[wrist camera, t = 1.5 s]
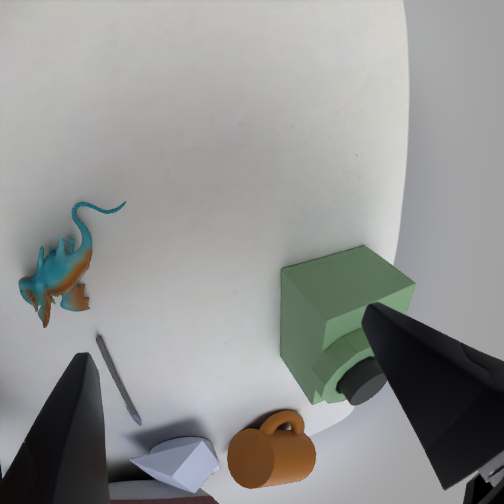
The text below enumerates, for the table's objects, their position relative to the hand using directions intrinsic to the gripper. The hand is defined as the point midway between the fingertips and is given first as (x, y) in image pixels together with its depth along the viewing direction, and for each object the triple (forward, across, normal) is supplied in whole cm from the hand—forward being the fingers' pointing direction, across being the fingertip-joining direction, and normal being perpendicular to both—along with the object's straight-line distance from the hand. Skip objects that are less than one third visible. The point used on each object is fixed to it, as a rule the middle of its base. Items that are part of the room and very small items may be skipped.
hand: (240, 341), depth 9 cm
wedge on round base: (+11, +5, +32) cm, 35 cm away
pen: (+12, +8, +18) cm, 23 cm away
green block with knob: (+13, -12, +12) cm, 22 cm away
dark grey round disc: (+5, -11, +12) cm, 17 cm away
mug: (+9, -4, +32) cm, 33 cm away
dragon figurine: (+12, +9, +3) cm, 15 cm away
